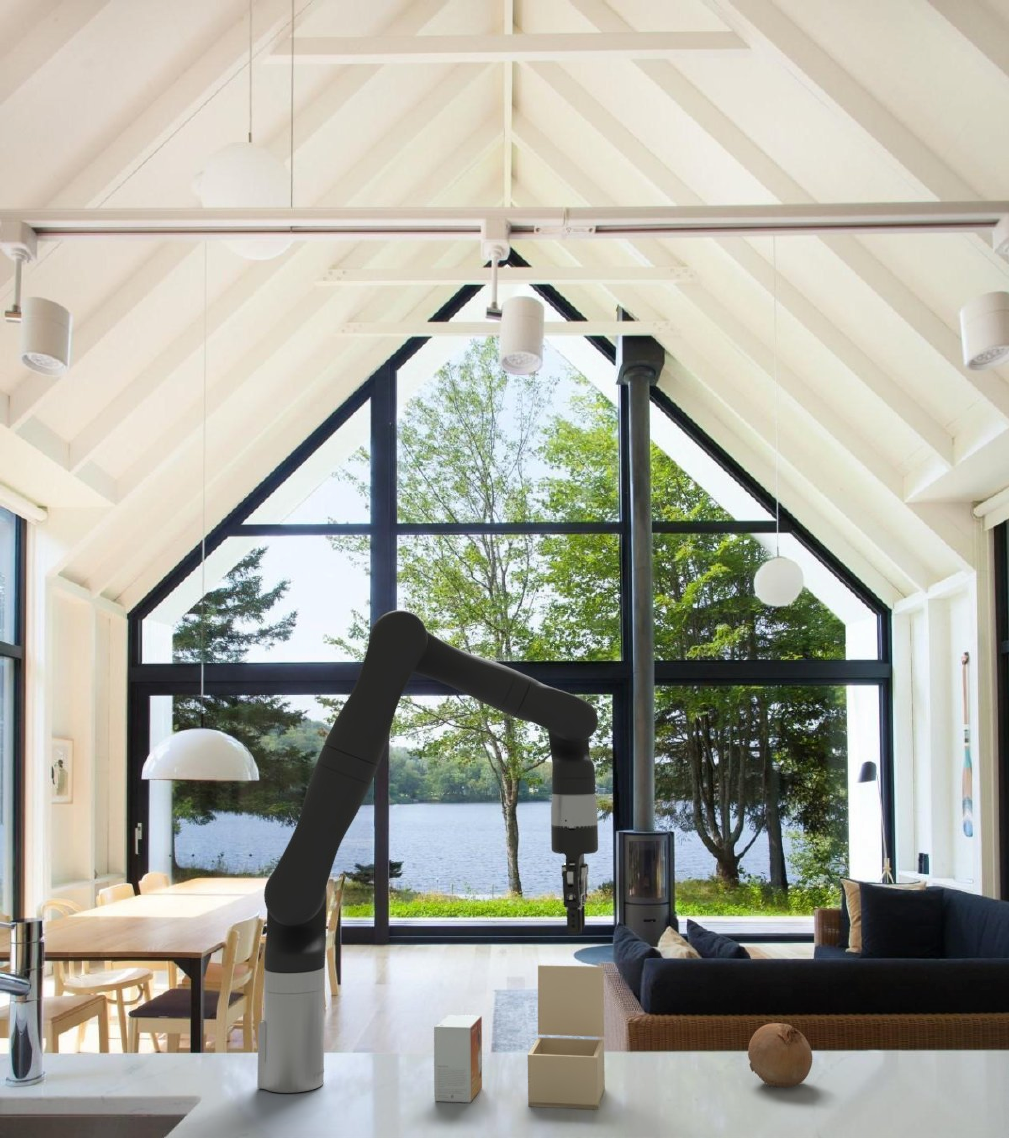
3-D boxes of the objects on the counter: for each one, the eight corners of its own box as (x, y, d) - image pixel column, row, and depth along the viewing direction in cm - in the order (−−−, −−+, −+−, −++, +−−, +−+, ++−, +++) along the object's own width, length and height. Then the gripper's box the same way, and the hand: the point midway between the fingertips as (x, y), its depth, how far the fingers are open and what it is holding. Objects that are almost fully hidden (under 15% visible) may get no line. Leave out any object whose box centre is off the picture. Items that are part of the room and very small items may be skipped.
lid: (537, 965, 183) (538, 965, 184) (537, 1034, 181) (538, 1034, 182) (603, 967, 181) (603, 966, 182) (603, 1037, 179) (604, 1036, 180)
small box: (471, 1104, 171) (470, 1027, 173) (433, 1102, 173) (433, 1026, 174) (483, 1088, 179) (482, 1015, 181) (447, 1086, 180) (446, 1013, 182)
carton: (528, 1106, 170) (527, 1055, 171) (538, 1086, 180) (538, 1037, 181) (598, 1109, 168) (597, 1057, 169) (604, 1088, 178) (603, 1039, 179)
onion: (804, 1111, 176) (823, 1055, 174) (741, 1092, 177) (760, 1036, 175) (798, 1070, 185) (817, 1016, 183) (739, 1053, 186) (757, 998, 184)
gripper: (557, 819, 201) (558, 924, 198) (545, 825, 187) (546, 939, 184) (601, 819, 199) (603, 925, 197) (592, 826, 185) (595, 940, 183)
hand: (576, 931), depth 191 cm, fingers open, 4 cm apart
